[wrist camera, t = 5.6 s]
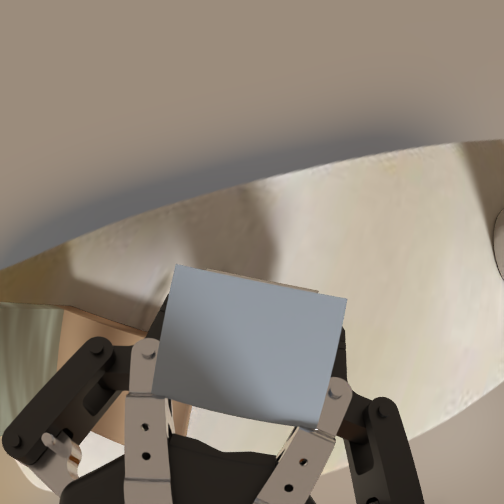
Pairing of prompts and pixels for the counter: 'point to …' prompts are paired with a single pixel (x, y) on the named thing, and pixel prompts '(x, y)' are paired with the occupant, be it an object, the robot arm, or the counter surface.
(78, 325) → the bookend
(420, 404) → the counter surface
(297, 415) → the grey block
